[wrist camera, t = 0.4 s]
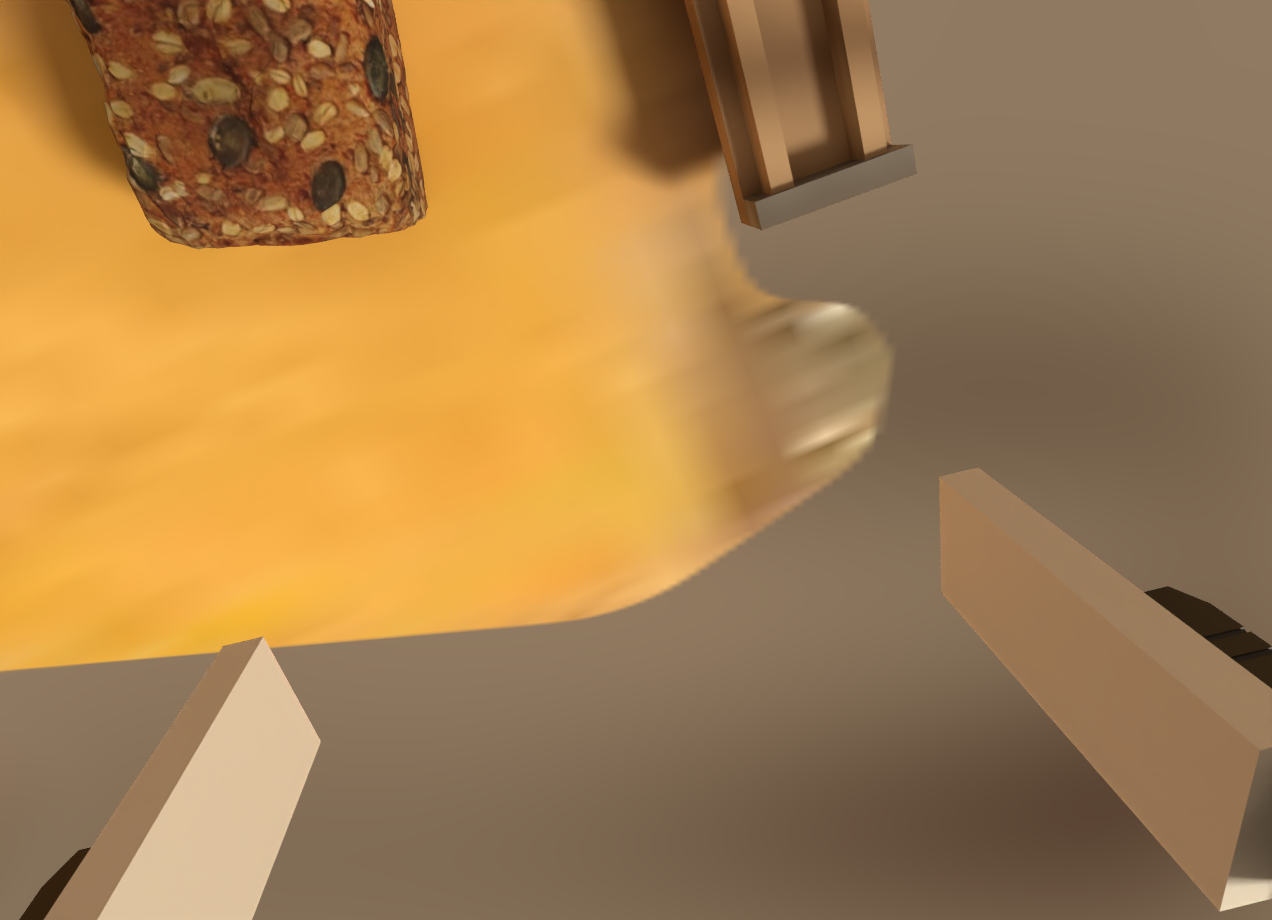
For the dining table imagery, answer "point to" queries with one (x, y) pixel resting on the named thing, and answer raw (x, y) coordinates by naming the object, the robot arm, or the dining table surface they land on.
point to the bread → (259, 117)
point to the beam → (796, 103)
